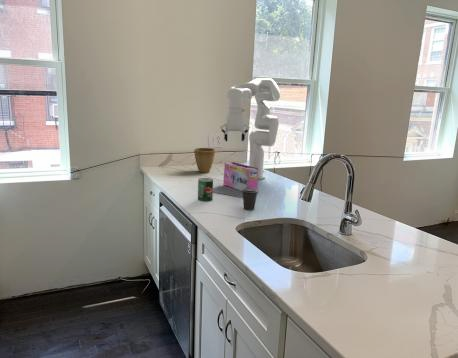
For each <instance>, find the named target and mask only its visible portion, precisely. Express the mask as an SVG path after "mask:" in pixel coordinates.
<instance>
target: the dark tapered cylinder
mask: <svg viewBox="0 0 458 358" xmlns="http://www.w3.org/2000/svg"><path fill="white" fill-rule="evenodd" d="M242 192H243V198H242V201H243V204H242V205H243V206H242V207H243V210H244V211H254V210H255V208H256V201H257V195H258V193H259V191H258V189H257V190H255V189H250V188H247V189H243V190H242Z"/></svg>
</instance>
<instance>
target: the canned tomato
mask: <svg viewBox="0 0 458 358" xmlns="http://www.w3.org/2000/svg"><path fill="white" fill-rule="evenodd" d="M213 188H214V179H213V178H210V177H200V178H198V181H197V201H198V202H204V203H207V202H212V201H213V200H214V199H213V197H214V192H213Z"/></svg>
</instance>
